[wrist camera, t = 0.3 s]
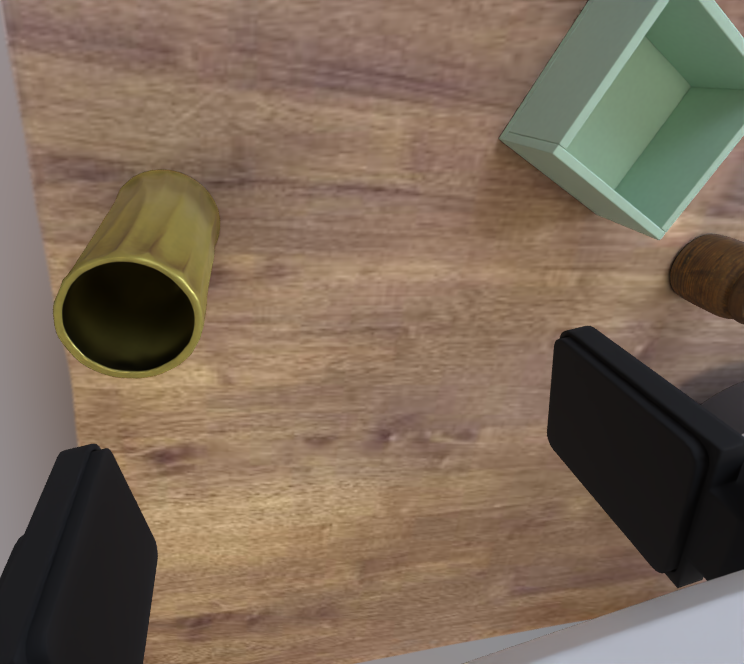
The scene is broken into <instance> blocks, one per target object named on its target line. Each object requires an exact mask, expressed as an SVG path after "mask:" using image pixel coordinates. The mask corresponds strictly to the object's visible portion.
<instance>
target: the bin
mask: <svg viewBox="0 0 744 664" xmlns="http://www.w3.org/2000/svg"><path fill="white" fill-rule="evenodd" d="M743 136H744V38H743V37H742V35H741V34H740V33H739V31H738V30H737V29H736V28H735V26H734V25H733V24H732V22H731V21H730V20H729V19H728V17H727V16H726V15H725V13H724V12H723V11H722V10H721V8H720V7H719V6H718V5H717V3H716V2H715V1H714V0H589V1H588V2H587V4H586V5H585V7H584V8H583V10H582V11H581V13H580V14H579V16H578V18H577V19H576V21H575V22H574V24H573V25H572V27H571V28H570V30H569V31H568V33H567V34H566V36H565V38H564V39H563V41H562V42H561V44H560V45H559V47H558V48H557V50H556V51H555V53H554V54H553V56H552V58H551V59H550V61H549V62H548V64H547V65H546V67H545V68H544V70H543V71H542V73H541V74H540V76H539V78H538V79H537V81H536V82H535V84H534V85H533V87H532V88H531V90H530V91H529V93H528V94H527V96H526V97H525V99H524V101H523V102H522V104H521V105H520V107H519V108H518V110H517V111H516V113H515V114H514V116H513V117H512V119H511V121H510V122H509V124H508V125H507V127H506V128H505V130H504V131H503V133H502V134H501V136H500V137H499V140H501V141H502V142H503V143H505V144H506V145H507V146H509V147H510V148H511V149H512V150H514V151H515V152H516V153H518V154H519V155H520V156H521V157H523V158H524V159H525V160H527V161H528V162H529V163H531V164H532V165H533V166H534V167H536V168H537V169H538V170H540V171H541V172H542V173H543V174H545V175H546V176H547V177H549V178H550V179H551V180H553V181H554V182H555V183H556V184H558V185H559V186H560V187H562V188H563V189H564V190H565V191H567V192H568V193H569V194H571V195H572V196H573V197H575V198H576V199H577V200H578V201H580V202H581V203H582V204H584V205H585V206H586V207H587V208H589V209H590V210H591V211H593V212H594V213H595V214H597V215H599V216H602V217H604V218H606V219H609V220H611V221H613V222H616V223H618V224H621V225H623V226H626V227H628V228H630V229H633V230H635V231H638V232H640V233H643V234H645V235H647V236H650V237H652V238H655V239H657V240H660V239H661V238H662V237H663V236H664V234H665V232H667V231H668V229H669V228H670V227H671V226H672V224H673V223H674V222H675V221H676V219H677V218H678V217H679V216H680V214H681V213H682V212H683V211H684V209H685V208H686V207H687V206H688V204H689V203H690V202H691V201H692V199H693V198H694V197H695V196H696V194H697V193H698V192H699V191H700V189H701V188H702V187H703V186H704V184H705V183H706V182H707V181H708V179H709V178H710V177H711V176H712V174H713V173H714V172H715V171H716V169H717V168H718V167H719V166H720V164H721V163H722V162H723V161H724V159H725V158H726V157H727V156H728V154H729V153H730V152H731V151H732V149H733V148H734V147H735V146H736V144H737V143H738V142H739V141H740V139H741V138H742V137H743Z"/></svg>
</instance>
